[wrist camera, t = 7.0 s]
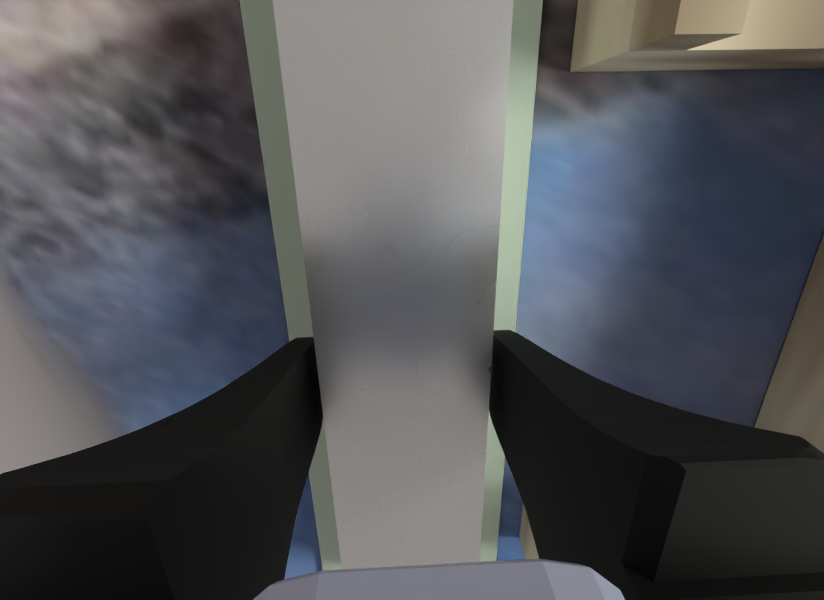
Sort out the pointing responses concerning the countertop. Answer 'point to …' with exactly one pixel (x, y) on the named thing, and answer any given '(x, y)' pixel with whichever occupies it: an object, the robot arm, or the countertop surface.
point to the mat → (289, 242)
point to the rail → (400, 257)
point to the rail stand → (724, 50)
